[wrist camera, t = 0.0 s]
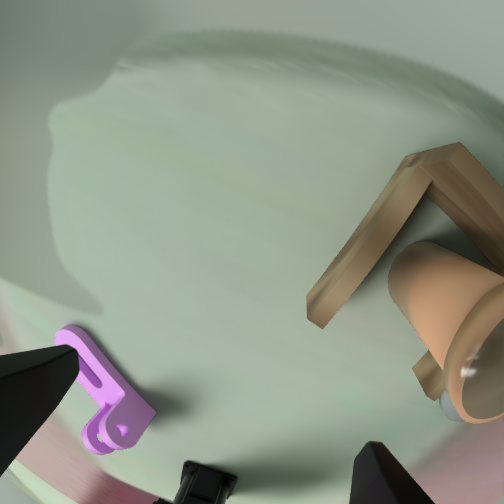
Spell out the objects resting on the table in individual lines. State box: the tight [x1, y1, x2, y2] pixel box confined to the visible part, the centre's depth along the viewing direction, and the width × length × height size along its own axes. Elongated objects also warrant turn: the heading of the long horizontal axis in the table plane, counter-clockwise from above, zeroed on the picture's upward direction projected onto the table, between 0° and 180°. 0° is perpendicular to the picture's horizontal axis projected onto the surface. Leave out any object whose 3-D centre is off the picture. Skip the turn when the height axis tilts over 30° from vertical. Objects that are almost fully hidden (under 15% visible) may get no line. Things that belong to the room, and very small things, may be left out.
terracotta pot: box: [388, 241, 504, 424], centre depth 13 cm, size 6×6×13 cm
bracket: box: [55, 325, 156, 455], centre depth 23 cm, size 13×6×7 cm, turn 38°
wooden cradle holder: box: [306, 142, 504, 401], centre depth 16 cm, size 12×13×8 cm
